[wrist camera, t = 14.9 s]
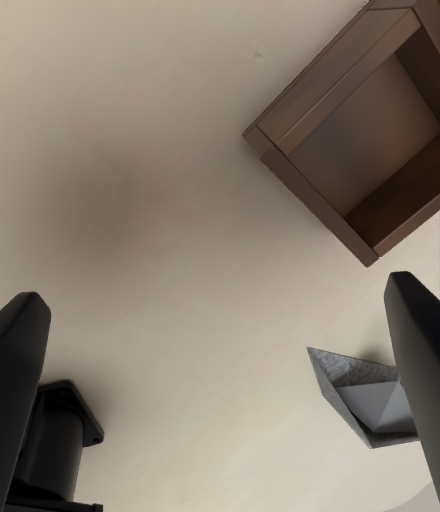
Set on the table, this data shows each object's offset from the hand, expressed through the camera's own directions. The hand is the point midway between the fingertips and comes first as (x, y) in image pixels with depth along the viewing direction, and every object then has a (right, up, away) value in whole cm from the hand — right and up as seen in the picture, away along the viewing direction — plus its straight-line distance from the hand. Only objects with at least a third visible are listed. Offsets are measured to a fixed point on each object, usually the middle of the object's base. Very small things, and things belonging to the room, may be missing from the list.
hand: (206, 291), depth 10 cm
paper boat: (+12, -7, +19) cm, 24 cm away
